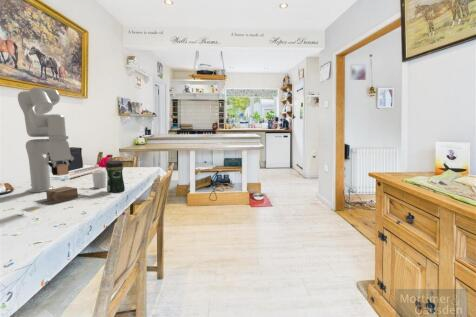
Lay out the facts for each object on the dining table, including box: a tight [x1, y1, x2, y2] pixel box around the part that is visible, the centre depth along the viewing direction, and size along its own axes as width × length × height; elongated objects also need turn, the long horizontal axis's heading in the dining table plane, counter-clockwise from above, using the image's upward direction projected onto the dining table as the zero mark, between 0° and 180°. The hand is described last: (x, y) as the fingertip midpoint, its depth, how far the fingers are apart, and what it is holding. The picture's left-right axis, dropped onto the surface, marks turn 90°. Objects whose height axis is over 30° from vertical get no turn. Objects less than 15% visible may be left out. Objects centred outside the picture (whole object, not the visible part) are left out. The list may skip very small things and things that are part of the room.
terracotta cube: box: [56, 163, 70, 177], centre depth 143 cm, size 5×5×5 cm
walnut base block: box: [45, 186, 79, 202], centre depth 145 cm, size 10×10×5 cm
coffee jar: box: [105, 160, 125, 194], centre depth 166 cm, size 10×8×19 cm
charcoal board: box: [33, 193, 89, 206], centre depth 145 cm, size 16×20×2 cm
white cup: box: [91, 170, 107, 189], centre depth 179 cm, size 8×8×10 cm
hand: (60, 173), depth 143 cm, fingers closed on terracotta cube, 5 cm apart
